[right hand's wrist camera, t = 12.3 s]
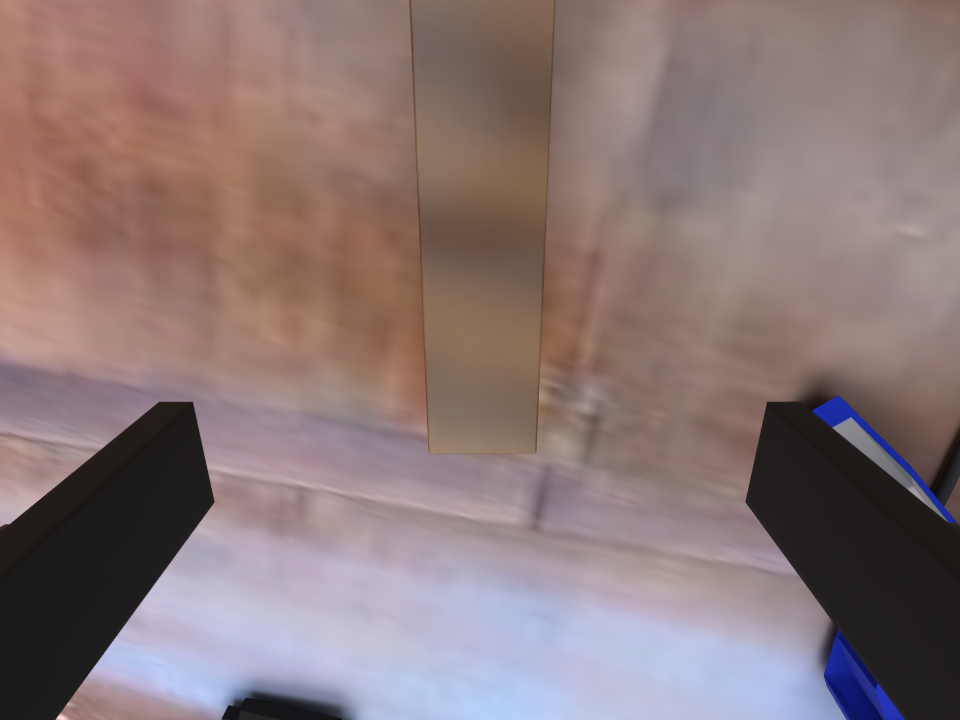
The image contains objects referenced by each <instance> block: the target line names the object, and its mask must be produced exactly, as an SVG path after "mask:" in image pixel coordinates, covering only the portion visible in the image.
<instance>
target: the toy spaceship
mask: <svg viewBox="0 0 960 720" xmlns="http://www.w3.org/2000/svg"><path fill="white" fill-rule="evenodd" d="M812 411H813V412H814V413H815V414H816V415H817V416H819V417H820V418H821V419H822V420H824V421H825V422H826V423H827V424H828V425H830V426H831V427H832V428H833V429H835V430H836V431H837V432H838V433H839V434H841V435H842V436H843V437H844V438H846V439H847V440H848V441H849V442H850V443H852V444H853V445H854V446H855V447H856V448H858V449H859V450H860V451H861V452H863V453H864V454H865V455H866V456H867V457H869V458H870V459H871V460H872V461H874V462H875V463H876V464H877V465H878V466H880V467H881V468H882V469H883V470H885V471H886V472H887V473H888V474H889V475H891V476H892V477H893V478H894V479H896V480H897V481H898V482H899V483H900V484H902V485H903V486H904V487H905V488H907V489H908V490H909V491H910V492H911V493H913V494H914V495H915V496H916V497H918V498H919V499H920V500H921V501H922V502H924V503H925V504H926V505H927V506H929V507H930V508H931V509H932V510H933V511H935V512H936V513H937V514H938V515H940V516H941V517H942V518H943V519H944V520H946V521H947V522H956V521H955V520H954V519H953V518H952V516H951V515H950V514H949V513H948V511H947V510H946V509H945V508H944V507H943V505H942V504H941V503H940V502H939V500H938V499H937V498H936V497H935V495H934V494H933V493H932V492H931V490H930V489H929V488H928V487H927V486H926V484H925V483H924V482H923V481H922V479H921V478H920V477H919V476H918V474H917V473H916V472H915V471H914V470H913V468H912V467H911V466H910V465H909V464H908V463H907V462H906V461H905V460H904V459H903V458H902V457H901V456H900V455H899V454H898V453H897V452H896V451H895V450H894V449H893V448H892V447H891V446H889V445H888V444H887V443H886V442H885V441H884V440H883V439H882V438H881V437H880V436H879V435H878V434H877V433H876V432H875V431H874V430H873V429H872V428H871V427H870V426H869V425H868V424H867V423H866V422H865V421H864V420H863V419H862V418H861V417H860V416H859V415H858V414H857V413H856V412H855V411H854V410H853V409H852V408H851V407H850V406H849V405H848V404H847V403H846V402H845V401H844V400H843V399H842V398H841V397H839V396H837V397H835V398H833V399H831V400H830V401H828V402H826V403H824V404H823V405H821V406H819V407H817V408H816V409H814V410H812ZM824 678H825V682H826V685H827V687H828V689H829V691H830V692H831V694H832V696H833V697H834V699H835V701H836V703H837V704H838V706H839V708H840V709H841V711H842V713H843V714H844V716H845V718H846V720H904V718H903V717H902V715H901V714H900V713H899V711H898V710H897V709H896V707H895V706H894V704H893V703H892V702H891V700H890V699H889V698H888V696H887V695H886V694H885V692H884V691H883V689H882V688H881V687H880V685H879V684H878V683H877V681H876V680H875V679H874V677H873V676H872V674H871V673H870V672H869V670H868V669H867V668H866V666H865V665H864V663H863V662H862V661H861V659H860V658H859V657H858V655H857V654H856V653H855V651H854V650H853V648H852V647H851V646H850V644H849V643H848V642H847V640H846V639H845V638H844V636H843V635H842V633H841V632H840V631H839V629H838V631H837V634H836V637H835V640H834V644H833V647H832V650H831V653H830V657H829V660H828V663H827V667H826V670H825V673H824Z"/></svg>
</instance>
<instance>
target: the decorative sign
mask: <svg viewBox="0 0 960 720" xmlns="http://www.w3.org/2000/svg"><path fill="white" fill-rule="evenodd" d="M222 720H342V718H337V717H332V716H328V715H323V714H319V713H314V712H309V711H305V710H300V709H296V708H291V707H286V706H282V705H277V704H273V703H268V702H263V701H259V700H254V699H250V698H246V699H245V701H244V703H243V705H242V707H241V708H239V707H235V706H230V705H228V707H227V709H226V711H225V713H224V715H223V717H222Z"/></svg>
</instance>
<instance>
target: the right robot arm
mask: <svg viewBox="0 0 960 720" xmlns="http://www.w3.org/2000/svg"><path fill="white" fill-rule="evenodd" d="M959 476H960V440H959V442H958V444H957V446H956V448H955V450H954V452H953V454H952V456H951V458H950V461H949V463H948V465H947V467H946V469H945V471H944V473H943V475H942V477H941V480H940V482H939V484H938V486H937V488H936V490H935V492H934V495H935V497H936V498H937V499H938V500H939V502H940V503H941V504H942V505H943V507H944V506H945V504H946V502H947V500H948V498H949V496H950V495H951V493H952V491H953V489H954V487H955V485H956V483H957V481H958V479H959ZM213 504H214V497H213V493H212V488H211V484H210V479H209V474H208V470H207V465H206V460H205V456H204V451H203V447H202V442H201V437H200V433H199V428H198V424H197V419H196V414H195V410H194V405H193V402H158V403H157V404H156V405H155V406H154V407H152V408H151V409H150V410H149V411H147V412H146V413H145V414H144V415H143V416H141V417H140V418H139V419H138V420H136V421H135V422H134V423H133V424H132V425H130V426H129V427H128V428H127V429H125V430H124V431H123V432H122V433H121V434H119V435H118V436H117V437H116V438H114V439H113V440H112V441H111V442H110V443H108V444H107V445H106V446H105V447H103V448H102V449H101V450H100V451H99V452H97V453H96V454H95V455H94V456H93V457H91V458H90V459H89V460H88V461H86V462H85V463H84V464H83V465H82V466H80V467H79V468H78V469H77V470H75V471H74V472H73V473H72V474H71V475H69V476H68V477H67V478H66V479H64V480H63V481H62V482H61V483H60V484H58V485H57V486H56V487H55V488H53V489H52V490H51V491H50V492H49V493H47V494H46V495H45V496H44V497H42V498H41V499H40V500H39V501H38V502H36V503H35V504H34V505H33V506H31V507H30V508H29V509H28V510H27V511H25V512H24V513H23V514H22V515H20V516H19V517H18V518H17V519H16V520H14V521H13V522H12V523H11V524H5V525H3V526H1V527H0V720H56V718H57V717H58V715H59V714H60V713H61V711H62V710H63V709H64V707H65V706H66V704H67V703H68V702H69V700H70V699H71V698H72V696H73V695H74V694H75V692H76V691H77V689H78V688H79V687H80V685H81V684H82V683H83V681H84V680H85V679H86V677H87V676H88V674H89V673H90V672H91V670H92V669H93V668H94V666H95V665H96V663H97V662H98V661H99V659H100V658H101V657H102V655H103V654H104V653H105V651H106V650H107V648H108V647H109V646H110V644H111V643H112V642H113V640H114V639H115V638H116V636H117V635H118V633H119V632H120V631H121V629H122V628H123V627H124V625H125V624H126V622H127V621H128V620H129V618H130V617H131V616H132V614H133V613H134V612H135V610H136V609H137V607H138V606H139V605H140V603H141V602H142V601H143V599H144V598H145V597H146V595H147V594H148V592H149V591H150V590H151V588H152V587H153V586H154V584H155V583H156V581H157V580H158V579H159V577H160V576H161V575H162V573H163V572H164V571H165V569H166V568H167V566H168V565H169V564H170V562H171V561H172V560H173V558H174V557H175V556H176V554H177V553H178V551H179V550H180V549H181V547H182V546H183V545H184V543H185V542H186V540H187V539H188V538H189V536H190V535H191V534H192V532H193V531H194V530H195V528H196V527H197V525H198V524H199V523H200V521H201V520H202V519H203V517H204V516H205V515H206V513H207V512H208V510H209V509H210V508H211V506H212V505H213ZM746 504H747V505H748V506H749V508H750V509H751V510H752V512H753V513H754V515H755V516H756V517H757V519H758V520H759V521H760V523H761V524H762V525H763V527H764V528H765V530H766V531H767V532H768V534H769V535H770V536H771V538H772V539H773V540H774V542H775V543H776V545H777V546H778V547H779V549H780V550H781V551H782V553H783V554H784V556H785V557H786V558H787V560H788V561H789V562H790V564H791V565H792V566H793V568H794V569H795V571H796V572H797V573H798V575H799V576H800V577H801V579H802V580H803V581H804V583H805V584H806V586H807V587H808V588H809V590H810V591H811V592H812V594H813V595H814V597H815V598H816V599H817V601H818V602H819V603H820V605H821V606H822V607H823V609H824V610H825V612H826V613H827V614H828V616H829V617H830V618H831V620H832V621H833V622H834V624H835V625H836V627H837V628H838V629H839V631H840V632H841V633H842V635H843V636H844V638H845V639H846V640H847V642H848V643H849V644H850V646H851V647H852V648H853V650H854V651H855V653H856V654H857V655H858V657H859V658H860V659H861V661H862V662H863V663H864V665H865V666H866V668H867V669H868V670H869V672H870V673H871V674H872V676H873V677H874V679H875V680H876V681H877V683H878V684H879V685H880V687H881V688H882V689H883V691H884V692H885V694H886V695H887V696H888V698H889V699H890V700H891V702H892V703H893V704H894V706H895V707H896V709H897V710H898V711H899V713H900V714H901V715H902V717H903V718H904V720H960V525H959V524H957V523H956V522H947V521H946V520H944V519H943V518H942V517H941V516H940V515H938V514H937V513H936V512H935V511H933V510H932V509H931V508H930V507H929V506H927V505H926V504H925V503H924V502H922V501H921V500H920V499H919V498H918V497H916V496H915V495H914V494H913V493H911V492H910V491H909V490H908V489H907V488H905V487H904V486H903V485H902V484H900V483H899V482H898V481H897V480H896V479H894V478H893V477H892V476H891V475H889V474H888V473H887V472H886V471H885V470H883V469H882V468H881V467H880V466H878V465H877V464H876V463H875V462H874V461H872V460H871V459H870V458H869V457H867V456H866V455H865V454H864V453H863V452H861V451H860V450H859V449H858V448H856V447H855V446H854V445H853V444H852V443H850V442H849V441H848V440H847V439H846V438H844V437H843V436H842V435H841V434H839V433H838V432H837V431H836V430H835V429H833V428H832V427H831V426H830V425H828V424H827V423H826V422H825V421H824V420H822V419H821V418H820V417H819V416H817V415H816V414H815V413H814V412H813V411H811V410H810V409H809V408H808V407H806V406H805V405H804V404H803V403H802V402H767V405H766V410H765V414H764V419H763V424H762V428H761V433H760V437H759V442H758V447H757V451H756V456H755V460H754V465H753V470H752V474H751V479H750V484H749V488H748V493H747V497H746Z"/></svg>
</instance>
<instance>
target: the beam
mask: <svg viewBox="0 0 960 720" xmlns="http://www.w3.org/2000/svg"><path fill="white" fill-rule="evenodd" d="M554 19H555V0H410V23H411V47H412V71H413V95H414V118H415V142H416V166H417V189H418V213H419V237H420V261H421V284H422V308H423V332H424V355H425V379H426V403H427V427H428V450H429V454H535V453H536V448H537V425H538V401H539V377H540V353H541V329H542V305H543V281H544V258H545V234H546V210H547V186H548V162H549V138H550V114H551V91H552V67H553V43H554Z"/></svg>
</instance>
